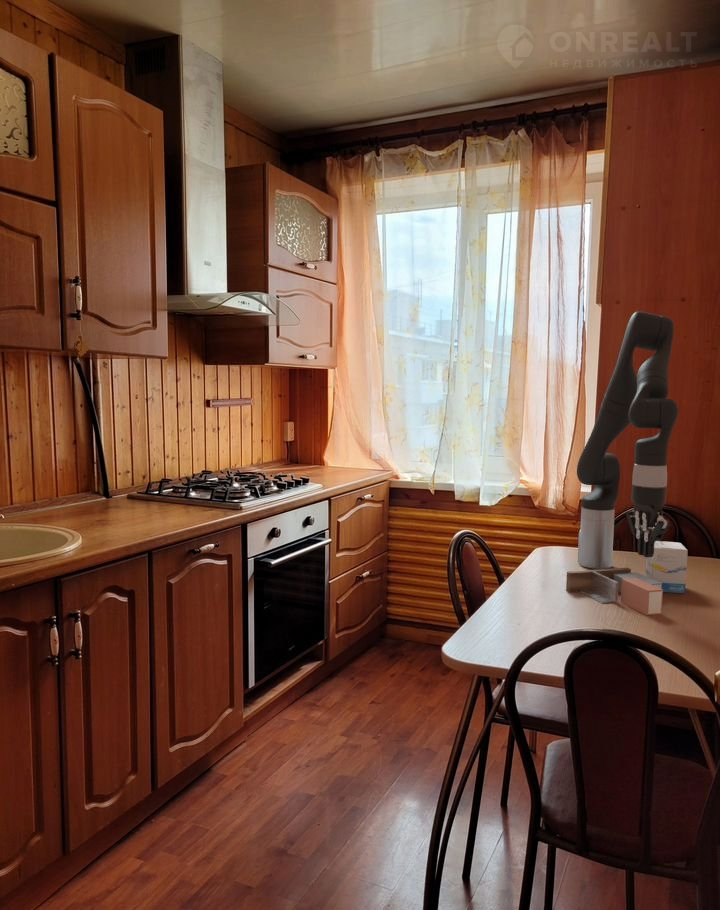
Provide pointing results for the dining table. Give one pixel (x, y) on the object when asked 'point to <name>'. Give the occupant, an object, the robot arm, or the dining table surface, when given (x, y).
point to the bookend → (602, 589)
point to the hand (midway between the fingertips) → (645, 555)
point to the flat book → (635, 575)
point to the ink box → (668, 566)
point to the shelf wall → (589, 578)
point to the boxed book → (641, 596)
